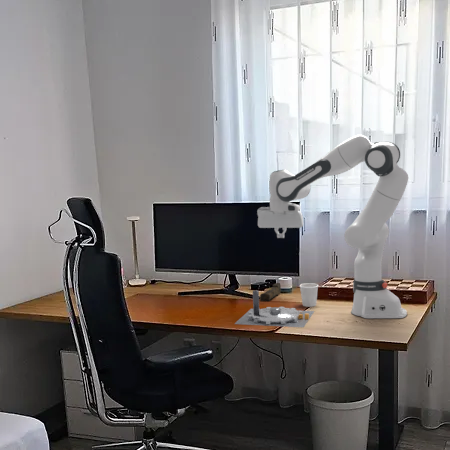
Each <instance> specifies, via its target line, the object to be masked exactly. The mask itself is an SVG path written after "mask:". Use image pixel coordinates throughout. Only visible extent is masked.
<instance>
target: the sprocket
mask: <svg viewBox="0 0 450 450" xmlns="http://www.w3.org/2000/svg"><path fill="white" fill-rule="evenodd" d="M252 305H253V306H252V307H253V308H252V309H253V312H249V313H248V319H249V320H254V322H255V323H259V322H261V323H266V324H271V323H272V324H276V323H280V324H286V323H287V322H297V321H298V319H303V311H304V310H297V308H295V307H285V306H279V307H278V306H276V307H275V306H273V307H271V306H266V308H265V307H264V308H260V293H259V290H257V289H256V290H252Z"/></svg>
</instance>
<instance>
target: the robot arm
mask: <svg viewBox="0 0 450 450" xmlns="http://www.w3.org/2000/svg"><path fill="white" fill-rule="evenodd" d="M400 158H401V150H400V147H398V145H396V144H395V143H393V142H391V141H378V142H377V141H376V142H374V143H372V142H371V141H370V140H369V138H368V137H367V136H365V135H363V134H357V135H354V136H352V137H350V138H348V139H346V140H344V141H343V142H341V143H340V144H338V145H337V146H334V147H333V148H332V149H331V150H330V151H329V152H327V153H326V154H325V155H323V156H322V157H320V159H318V160H316V162H314V163H313V164H311V165H309V166H308V167H306V168H305V169H302V170H301V171H300V172H298V173H297V174H293V173H291V172H289V170H287V169H280V170H275V171H273V172H271V173H270V176H269V187H268V188H269V191H268V192H269V195H270V198H269V206H267V207H266V206H261V207H259V208H258V209H257V211H256V212H257V213H256V215H257V217H258V218H257V226H258V228H260V229H266V228H267V229H271V228H272V229H273V228H274V232H275V234H276V238H277V239H285V233H287V228H288V229H293V228H294V229H295V228H297V229H300V228H303V226H304V217H303V213H302V211H301V205H300V204H296V203H293V202H292V201H296V200H301V199H305V198H307V197H308V195H310V192H311V184H313V183H314V182H316V181H317V180H319V179H323V178H326V177H330V176H331V177H332V176H338V175H341V174H344V173H346V172H348V171H350V170H352V169H354V168H355V167H356V166H358V165H360V164H361V163H364V162H365V163H364V164H365V165H366V166H367V168H368V169H370V170H371V172H373V173H374V174H375V175H376V176H378V177H379V179H378V181H377V183H376V185H375V186H374V189H373V191H372V193H371V195H370V197H369V199H368V201H367V202H366V204H365V206H364V207H363V209H362V210H361V211H360V213H359V214H358V215H357V217H355V219H354V221H353V222H352V223H351V224H350V225H349V226H347V228H346V230H345V231H344V241H345V243H346V244H347V245H348V247H350V248H352V249H355V250H356V249H358V252H357V255H356V257H355V259H354V262H353V263H354V264H353V267H354V271H353V273H354V275H353V276H354V278H353V283H352V285H353V286H352V288H353V289H352V291H353V293H354V294H353V302H352V308H351V311H350V313H351V314H352V315H354V316H358V317H362V318H364V319H403V318H406V317H407V315H408V314H407V313H408V311H407V309H405V308H403V307H402V304H401V300H400V298H399V297H398V296H397V295H395V294H394V293H393V292H391V290H389V289H388V283H387V281H386V280H384V279H382V277H383V276H382V275H383V274H382V265H383V261H382V260H383V255H384V249H385V246H386V242H387V239H388V237H389V236H390V229H389V226H388V224H387V221H388V220H390V219H391V218H392V216H393V215H394V214H395V211H396V209H397V207H398V205H399V204H400V202H401V199H402V198H403V195H404V193H405V191H406V189H407V188H406V187H407V185H408V182H409V174H408V172H407V171H406V170H405V169H403V168H401V167H400V166H399V165H398V162H399V161H400ZM281 228H282V233H280V231H279V229H281Z"/></svg>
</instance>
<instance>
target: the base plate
mask: <svg viewBox="0 0 450 450" xmlns="http://www.w3.org/2000/svg"><path fill="white" fill-rule="evenodd" d="M302 311H303V319H298V321H297V322H287V323H286V324H280V323H276V324H272V323H271V324H266V323H261V322H259V323H255V322H254V320H249V319H248V313H249V312H253V308H250V309H249V310H248V311H247V312H246V313H245V314H243V315H242V316H241V317H240V318H239V319H238V320H237V321H236V322H235V323H234V325H242V326H243V325H246V326H265V327H266V326H267V327H269V326H270V327H285V328H286V327H288V328H305V326H306V325H307V323H308V322H309V320H310V319H311V317H312V315H314V313H315V311H314V310H302Z"/></svg>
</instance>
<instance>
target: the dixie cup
mask: <svg viewBox="0 0 450 450" xmlns="http://www.w3.org/2000/svg"><path fill="white" fill-rule="evenodd" d="M299 289H300V295H301V303H302V306H303V307H307V308H308V307H309V308H311V307H312V308H313V307H316V306H317V300H318V289H319V284H318V283H308V282H307V283H301V284H300V285H299Z"/></svg>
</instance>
